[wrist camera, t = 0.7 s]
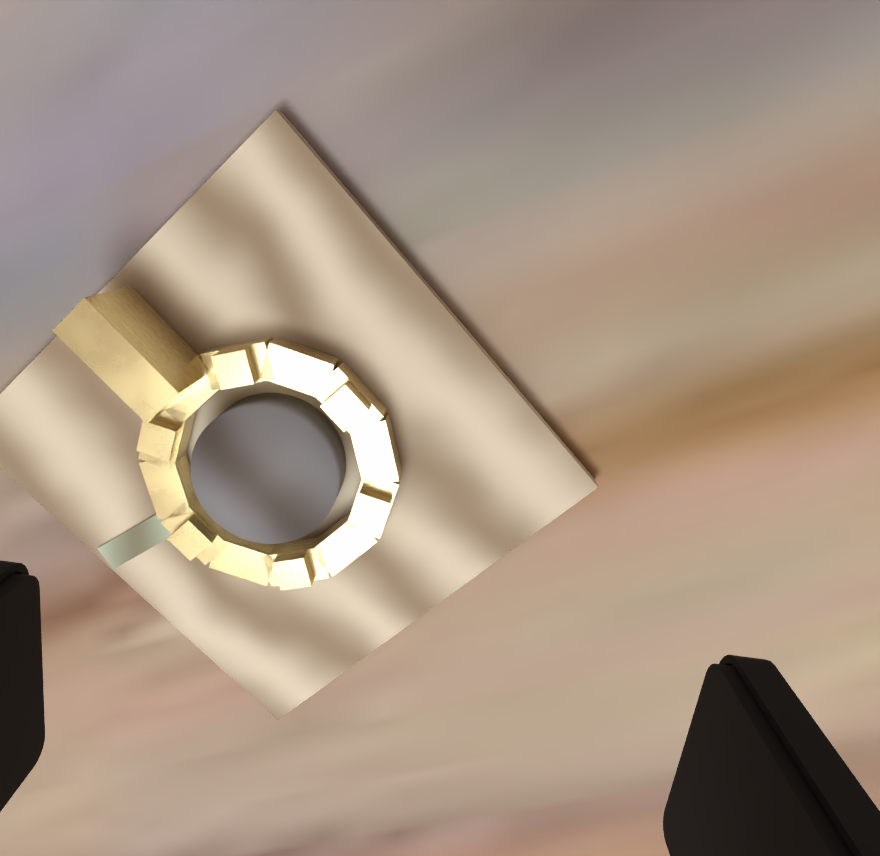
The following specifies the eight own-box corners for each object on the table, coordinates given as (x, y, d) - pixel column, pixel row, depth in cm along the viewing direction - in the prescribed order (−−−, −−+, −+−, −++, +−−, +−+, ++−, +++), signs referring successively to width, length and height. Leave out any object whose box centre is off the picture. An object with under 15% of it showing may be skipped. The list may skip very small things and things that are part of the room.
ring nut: (205, 210, 35) (166, 212, 31) (449, 476, 39) (445, 512, 35) (36, 382, 39) (-21, 406, 34) (276, 611, 43) (253, 660, 38)
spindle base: (282, 112, 35) (259, 103, 31) (594, 479, 40) (606, 506, 37) (-24, 426, 41) (-71, 448, 38) (282, 707, 47) (266, 749, 43)
